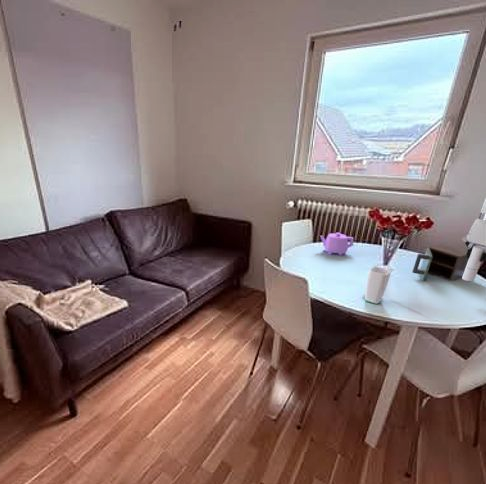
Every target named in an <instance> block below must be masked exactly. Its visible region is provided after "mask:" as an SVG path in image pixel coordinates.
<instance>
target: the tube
mask: <svg viewBox="0 0 486 484" xmlns="http://www.w3.org/2000/svg"><path fill="white" fill-rule="evenodd" d="M484 251H485V246H483V245H475V246H473V249H472V252H471V254H470V257H469V260H468V263H467V265H466V268H465V271H464V274H463V277H461V279H462V280H463V281H467V282H475V279H476V276H477V274H478V271H479V269H480V267H481V264H482V262H480V258H481V255H482V253H484Z"/></svg>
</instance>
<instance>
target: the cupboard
mask: <svg viewBox="0 0 486 484" xmlns="http://www.w3.org/2000/svg"><path fill="white" fill-rule="evenodd" d="M428 248H429V249H430V251H431V254H432V260H431V263H430V266H429V269H428V272H427V274H428V275H431V276H437V277H440V278H443V279H446V280H448V281H454V280H457V279H460V278H461V279H462V277H463V274H464V271H465V268H466V265H467V263H468V260H469V258H466V257H467V255H466V254H467V251H466V250H463V249H459V248H456V247H453V246H448V245H445V244H437V245H433V246H429V247H428Z"/></svg>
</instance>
